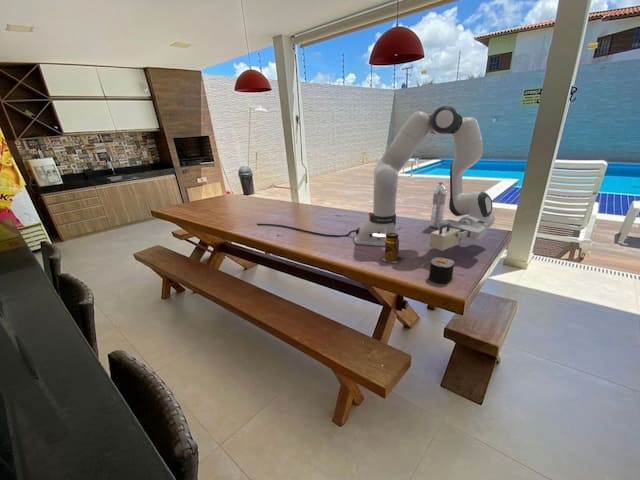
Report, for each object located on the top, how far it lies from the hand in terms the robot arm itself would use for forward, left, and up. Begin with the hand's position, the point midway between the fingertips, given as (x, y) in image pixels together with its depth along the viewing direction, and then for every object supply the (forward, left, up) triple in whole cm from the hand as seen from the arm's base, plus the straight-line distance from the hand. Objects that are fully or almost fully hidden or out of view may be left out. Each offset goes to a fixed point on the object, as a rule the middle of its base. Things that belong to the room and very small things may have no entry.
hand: (449, 233), depth 131 cm
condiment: (-23, 0, -13) cm, 27 cm away
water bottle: (+3, +46, -13) cm, 47 cm away
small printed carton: (-2, -1, -5) cm, 5 cm away
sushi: (-5, -19, -13) cm, 23 cm away
